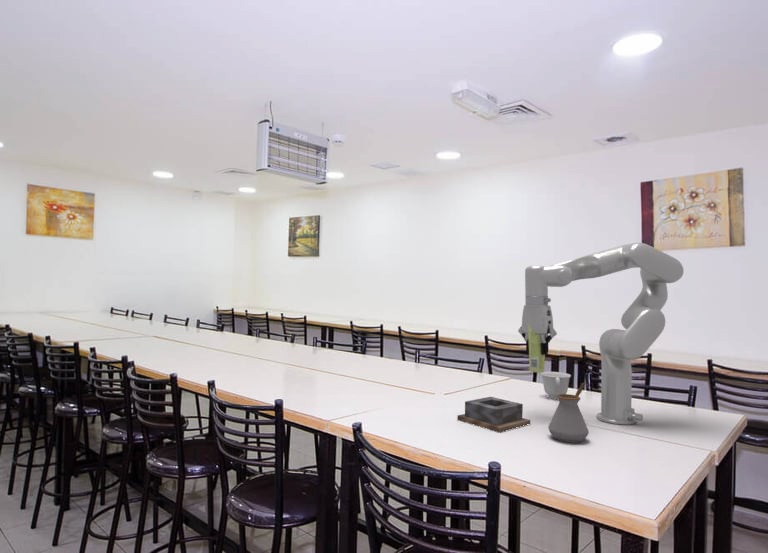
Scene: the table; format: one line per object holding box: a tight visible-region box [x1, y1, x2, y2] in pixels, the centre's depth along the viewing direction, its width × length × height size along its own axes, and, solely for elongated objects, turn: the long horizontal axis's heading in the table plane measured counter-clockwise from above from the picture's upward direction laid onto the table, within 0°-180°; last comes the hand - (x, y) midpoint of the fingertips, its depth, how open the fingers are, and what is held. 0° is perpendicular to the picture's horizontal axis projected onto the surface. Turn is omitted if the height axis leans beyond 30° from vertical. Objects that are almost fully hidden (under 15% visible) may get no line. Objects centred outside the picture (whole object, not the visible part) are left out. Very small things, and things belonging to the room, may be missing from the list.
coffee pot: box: [547, 382, 590, 444], centre depth 151 cm, size 21×12×15 cm, turn 141°
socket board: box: [456, 396, 531, 433], centre depth 164 cm, size 18×16×6 cm
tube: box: [528, 324, 546, 373], centre depth 170 cm, size 6×5×20 cm
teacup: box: [540, 371, 572, 400], centre depth 202 cm, size 12×15×10 cm
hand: (537, 352), depth 169 cm, fingers closed on tube, 5 cm apart
